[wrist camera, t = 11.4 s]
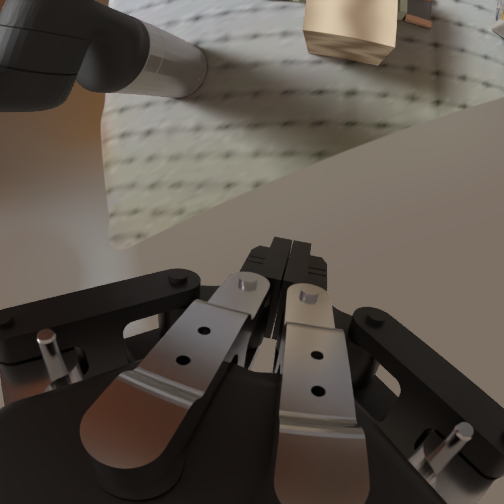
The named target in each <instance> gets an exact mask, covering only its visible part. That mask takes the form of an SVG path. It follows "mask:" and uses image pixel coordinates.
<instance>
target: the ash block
mask: <svg viewBox="0 0 504 504" xmlns="http://www.w3.org/2000/svg"><path fill="white" fill-rule="evenodd" d="M397 9H398V0H306V7H305V16H304V25H303V32H304V36H305V41H306V45H307V49H308V53H312V54H319V55H326V56H332V57H338V58H343V59H348V60H353V61H358V62H363V63H368V64H372V65H376V66H378V65H379V64H380V63H381V62H382V61H383V60H384V59H385V58H386V57H387V55H388V54H389V53H390V52H391V51H392V50H393V49H394V48H395V42H396V28H397Z"/></svg>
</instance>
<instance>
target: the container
mask: <svg viewBox="0 0 504 504" xmlns="http://www.w3.org/2000/svg"><path fill="white" fill-rule="evenodd" d="M491 29H492V30H493V31H494V32H496V33H497V34H499V35H500V36H501V37H503V38H504V0H496V6H495V11H494V16H493V22H492V26H491Z"/></svg>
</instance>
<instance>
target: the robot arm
mask: <svg viewBox="0 0 504 504" xmlns="http://www.w3.org/2000/svg"><path fill="white" fill-rule="evenodd" d="M206 73H207V61H206V58H205V56H204V54H203V53H202V51H201V50H200V49H199V48H197V47H196V46H194V45H192V44H190V43H188V42H186V41H185V40H183V39H180V38H178V37H176V36H174V35H172V34H170V33H168V32H166V31H164V30H162V29H160V28H157V27H155V26H153V25H151V24H148V23H146V22H144V21H141V20H139V19H137V18H134V17H132V16H129V15H127V14H124V13H122V12H119V11H117V10H114V9H112V8H110V7H108V6H105V5H103V4H101V3H99V2H97V1H95V0H6V2H5V4H4V6H3V8H2V11H1V13H0V112H34V111H42V110H48V109H52V108H55V107H57V106H59V105H61V104H63V103H64V102H65V101H66V99H67V98H68V96H69V94H70V92H71V90H72V87H73V85H74V82H75V80H76V81H77V82H78V83H79V84H80V85H81V86H82V87H83V88H85V89H87V90H89V91H92V92H98V93H99V92H100V93H123V94H139V95H151V96H161V97H170V98H182V97H186V96H188V95H190V94H192V93H193V92H195V91H196V90H197V89H198V88H199V87H200V86H201V84H202V83H203V81H204V79H205V77H206ZM291 244H292V240H289V239H284V238H279V237H274V239H273V241H272V244H271V246H270V248H269V247H263V246H258V247H256V248H254V249H252V250H251V252H250V254H249V256H248V257H247V259H246V261H245V263H244V264H243V266H242V268H241V270H240V272H236V273H233V274H230V275H229V276H228V277H227V278H226V279H225V280H224V282H223V283H222V284H221V286H200V281H201V280H200V277H199V276H198V275H197V274H196V273H195V272H192V271H190V270H186V269H169V270H165V271H160V272H156V273H152V274H148V275H144V276H139V277H135V278H131V279H127V280H123V281H119V282H114V283H110V284H106V285H102V286H97V287H93V288H90V289H85V290H81V291H77V292H73V293H68V294H65V295H60V296H56V297H52V298H47V299H43V300H39V301H35V302H31V303H27V304H23V305H19V306H15V307H10V308H6V309H2V310H0V378H1V386H2V393H3V399H4V405H5V406H4V407H2V408H1V409H0V504H477V502H478V501H479V500H480V499H481V497H482V496H483V495H484V494H485V492H486V491H487V490H488V489H489V488H490V487H491V486H492V485H493V484H495V483H496V482H497V481H498V480H499V479H500V478H501V477H503V476H504V408H502V407H501V406H500V405H499V404H498V403H497V402H495V401H494V400H493V399H492V398H491V397H490V396H488V395H487V394H486V393H485V392H484V391H483V390H481V389H480V388H479V387H478V386H477V385H475V384H474V383H473V382H472V381H471V380H469V379H468V378H467V377H466V376H465V375H463V374H462V373H461V372H460V371H459V370H457V369H456V368H455V367H454V366H453V365H451V364H450V363H449V362H448V361H447V360H445V359H444V358H443V357H442V356H440V355H439V354H438V353H437V352H435V351H434V350H433V349H432V348H431V347H429V346H428V345H427V344H426V343H424V342H423V341H422V340H421V339H419V338H418V337H417V336H416V335H414V334H413V333H412V332H411V331H409V330H408V329H407V328H406V327H404V326H403V325H402V324H401V323H399V322H398V321H397V320H396V319H394V318H393V317H392V316H390V315H389V314H388V313H386V312H384V311H382V310H380V309H377V308H372V307H361V308H358V309H357V310H355V311H354V313H353V316H351V315H349V314H346V313H344V312H341V311H339V310H338V309H336V308H335V307H333V306H332V303H331V297H330V295H329V293H327V264H326V262H325V261H324V260H323V259H322V258H321V257H316V256H311V255H310V250H311V243H305V242H300V241H295V240H294V241H293V245H292V249H291ZM290 250H291V253H290ZM289 256H290V257H289ZM156 314H158V321H159V328H158V329H154V330H151V331H148V332H145V333H141V334H138V335H135V336H132V337H129V338H125V339H124V338H123V330H124V328H125V327H126V325H127V324H129V323H130V322H133V321H136V320H139V319H142V318H146V317H149V316H153V315H156ZM276 314H277V316H276ZM275 318H276V321H275ZM274 322H275V327H274V331H273V337H272V339H275V340H277V343H276V348H275V352H274V357H273V364H272V372H271V373H260V372H253V371H251V368H252V366H253V364H254V362H255V359H256V357H257V354H258V352H259V346H260V344H261V343H262V340H263V337H266V338H270V337H271V333H272V329H273V326H274ZM380 364H381V365H382V366H383V367H384V368H385V369H386V370H387V371H388V372H389V373H390V374H391V375H392V376H393V377H395V378H396V379H397V381H398V382H399V384H400V388H401V393H400V396H399V397H397V396H396V395H395V394H394V393H393V392H392V391H391V390H390V389H389V388H388V387H387V386H386V385H385V384H384V383H383V382H382V381H381V380H380V379H379V378H378V377H377V376H376V375H375V373H376V371H377V369H378V367H379V365H380Z"/></svg>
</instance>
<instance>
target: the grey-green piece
mask: <svg viewBox="0 0 504 504" xmlns="http://www.w3.org/2000/svg"><path fill="white" fill-rule="evenodd" d="M284 1H289V0H284ZM292 1H296V2H299V0H292ZM431 1H432V0H398V9H397V20H402V19H403V17H404V21H405V22H408V23H411V24H415V25H418V26H421V27H424V28H428V29H430V28H431V27H432V21H430V2H431Z"/></svg>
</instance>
